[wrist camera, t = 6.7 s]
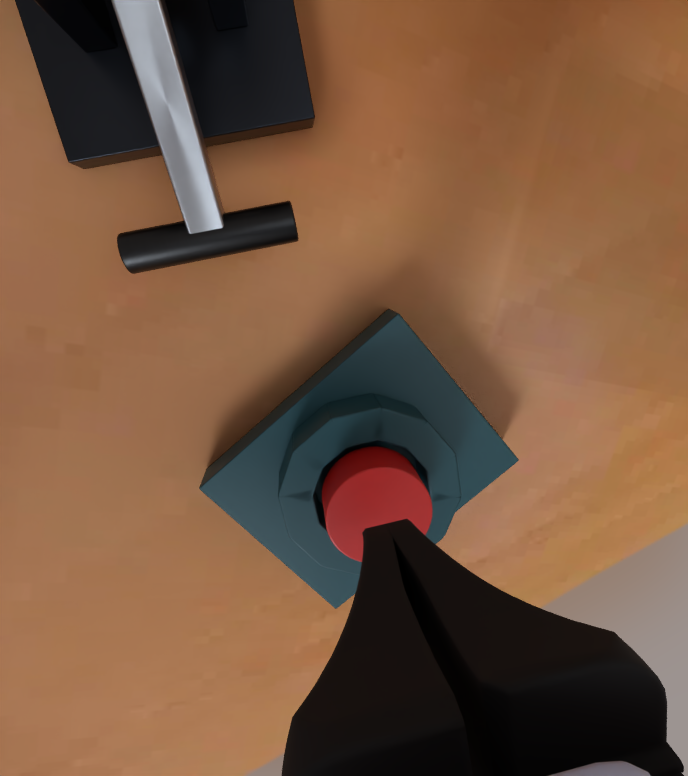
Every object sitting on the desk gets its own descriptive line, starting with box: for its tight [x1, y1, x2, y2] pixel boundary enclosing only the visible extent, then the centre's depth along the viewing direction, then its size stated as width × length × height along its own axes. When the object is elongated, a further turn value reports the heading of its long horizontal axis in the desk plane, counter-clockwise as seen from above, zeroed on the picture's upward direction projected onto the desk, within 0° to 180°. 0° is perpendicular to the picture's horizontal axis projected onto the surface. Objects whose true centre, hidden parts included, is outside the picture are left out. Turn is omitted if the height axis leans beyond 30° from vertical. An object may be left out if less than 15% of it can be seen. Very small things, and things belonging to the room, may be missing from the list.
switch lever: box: [111, 0, 298, 274], centre depth 12 cm, size 10×5×2 cm, turn 10°
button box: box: [199, 309, 518, 609], centre depth 18 cm, size 10×8×4 cm
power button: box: [322, 446, 433, 562], centre depth 16 cm, size 4×4×2 cm
